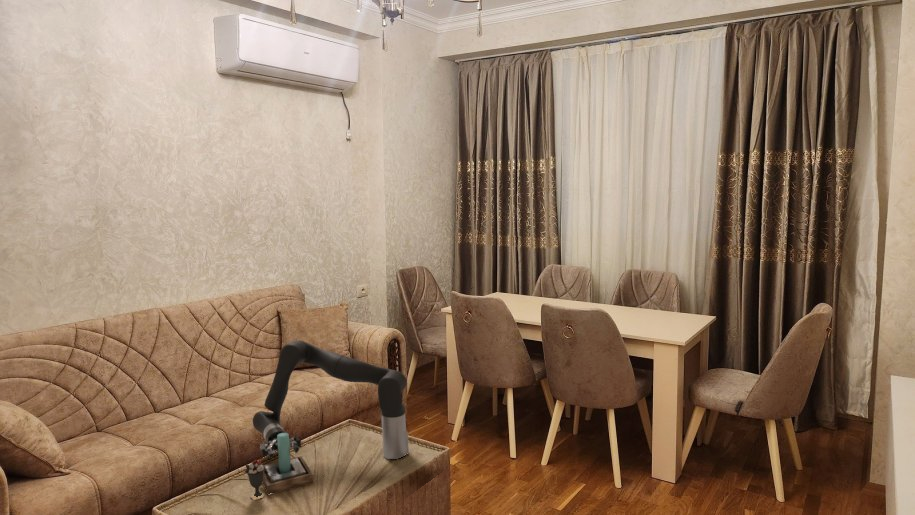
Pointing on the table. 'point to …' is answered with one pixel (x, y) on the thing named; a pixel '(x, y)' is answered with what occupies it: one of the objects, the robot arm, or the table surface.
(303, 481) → the box
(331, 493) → the table surface
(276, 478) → the plate
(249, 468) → the sundae
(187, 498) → the table surface
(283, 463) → the peg
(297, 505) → the table surface
